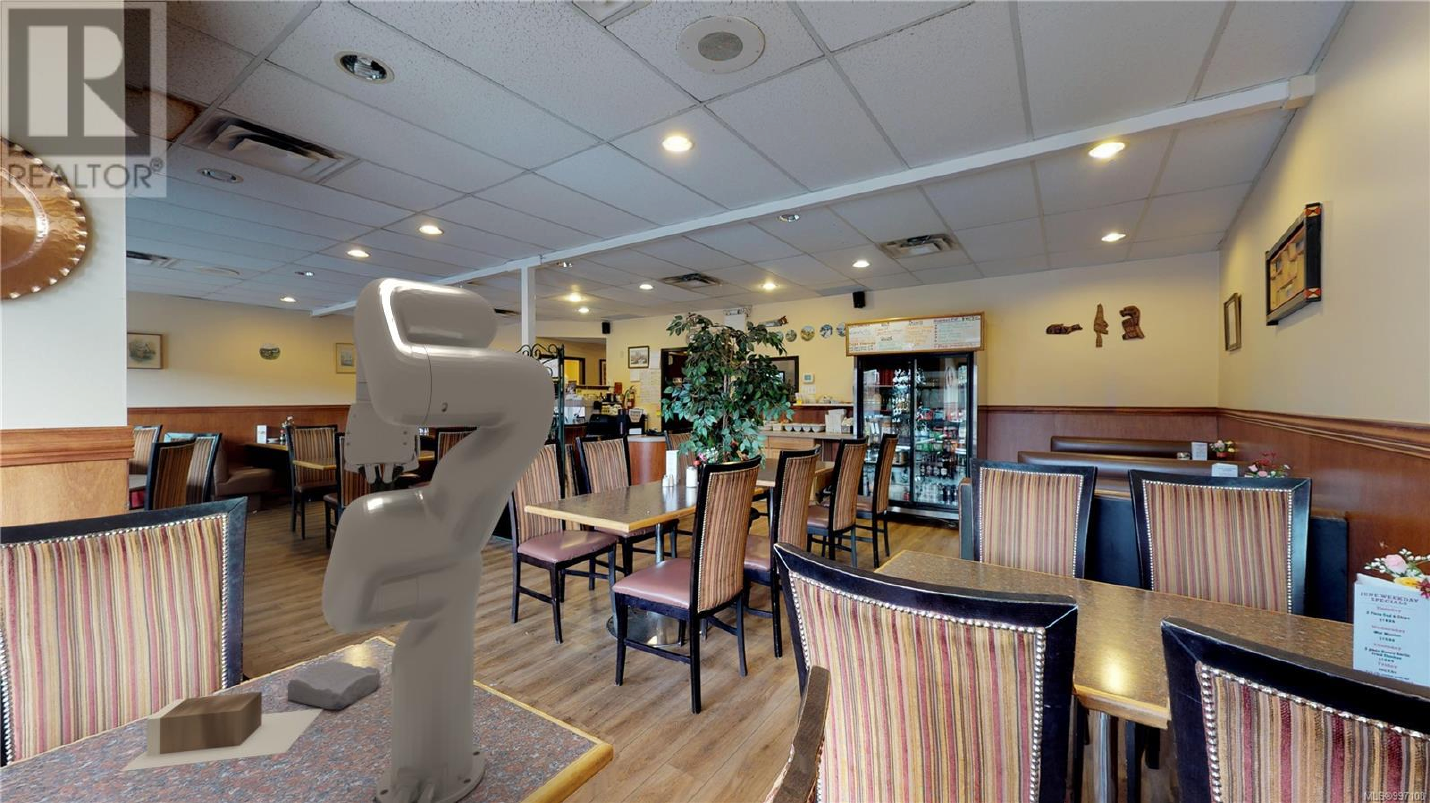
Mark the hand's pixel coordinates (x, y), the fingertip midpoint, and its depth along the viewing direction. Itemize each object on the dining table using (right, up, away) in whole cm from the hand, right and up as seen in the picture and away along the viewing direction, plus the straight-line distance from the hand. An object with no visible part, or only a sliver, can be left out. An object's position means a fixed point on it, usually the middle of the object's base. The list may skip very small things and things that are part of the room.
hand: (382, 505), depth 89 cm
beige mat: (-15, -32, -11) cm, 37 cm away
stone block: (-8, -32, +2) cm, 33 cm away
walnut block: (-13, -29, -10) cm, 33 cm away
